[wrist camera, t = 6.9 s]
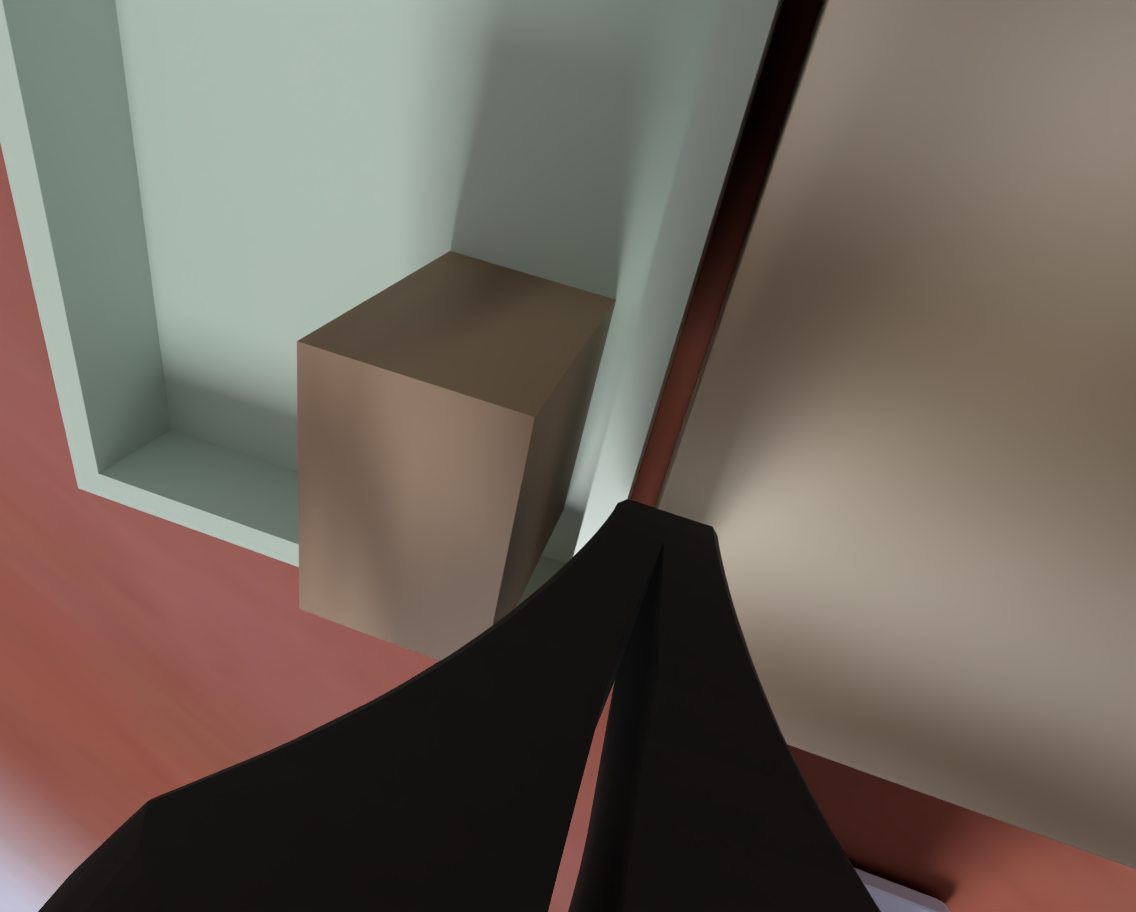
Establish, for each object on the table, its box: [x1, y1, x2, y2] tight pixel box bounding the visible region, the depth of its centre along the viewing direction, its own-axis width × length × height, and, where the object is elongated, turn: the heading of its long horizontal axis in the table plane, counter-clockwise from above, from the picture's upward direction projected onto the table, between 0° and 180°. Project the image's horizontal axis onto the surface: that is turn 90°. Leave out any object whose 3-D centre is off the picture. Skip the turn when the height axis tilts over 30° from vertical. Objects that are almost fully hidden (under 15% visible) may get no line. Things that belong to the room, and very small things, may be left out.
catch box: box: [0, 0, 784, 607], centre depth 11 cm, size 15×11×2 cm
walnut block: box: [297, 251, 616, 661], centre depth 11 cm, size 4×4×3 cm
